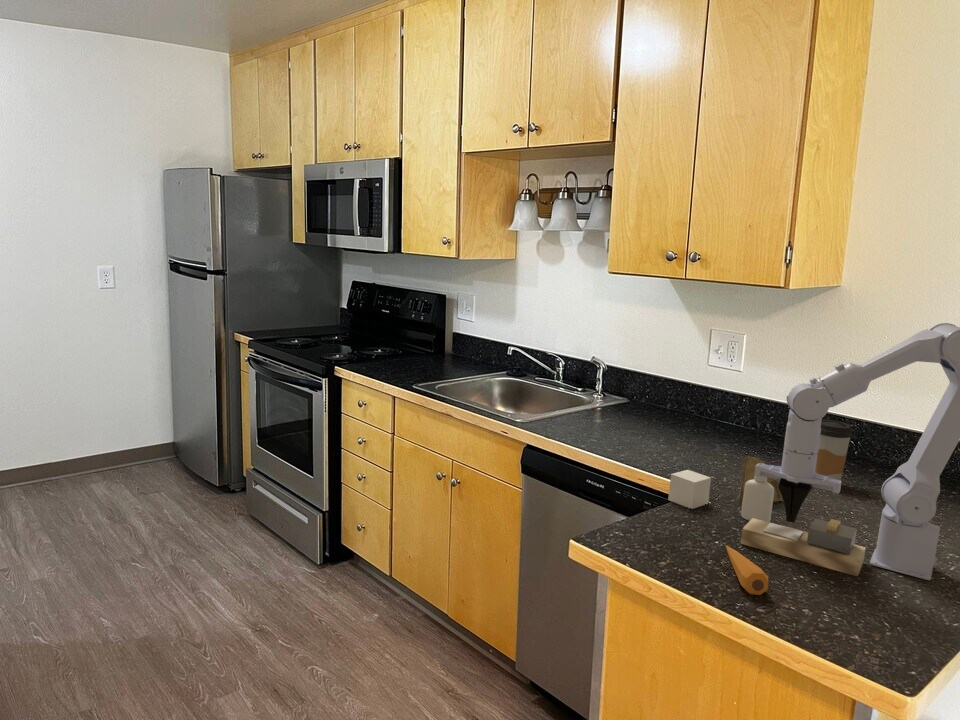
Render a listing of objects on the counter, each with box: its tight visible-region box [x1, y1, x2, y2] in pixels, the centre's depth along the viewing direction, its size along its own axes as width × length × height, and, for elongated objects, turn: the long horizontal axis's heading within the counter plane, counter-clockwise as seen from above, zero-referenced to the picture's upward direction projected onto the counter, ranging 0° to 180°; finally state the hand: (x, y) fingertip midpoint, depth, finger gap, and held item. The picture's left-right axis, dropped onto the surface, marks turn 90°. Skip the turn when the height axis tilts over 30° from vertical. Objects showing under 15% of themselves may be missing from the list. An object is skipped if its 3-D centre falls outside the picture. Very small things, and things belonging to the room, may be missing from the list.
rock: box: [738, 456, 783, 506], centre depth 162 cm, size 11×9×10 cm
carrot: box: [725, 545, 769, 596], centre depth 128 cm, size 20×4×4 cm, turn 176°
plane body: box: [740, 518, 867, 577], centre depth 136 cm, size 20×7×3 cm, turn 56°
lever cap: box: [807, 518, 858, 554], centre depth 133 cm, size 7×6×4 cm
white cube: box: [667, 469, 712, 510], centre depth 159 cm, size 6×6×6 cm
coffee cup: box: [815, 419, 853, 481], centre depth 176 cm, size 8×8×15 cm
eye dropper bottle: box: [740, 475, 774, 523], centre depth 150 cm, size 4×6×12 cm
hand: (791, 520), depth 137 cm, fingers closed
